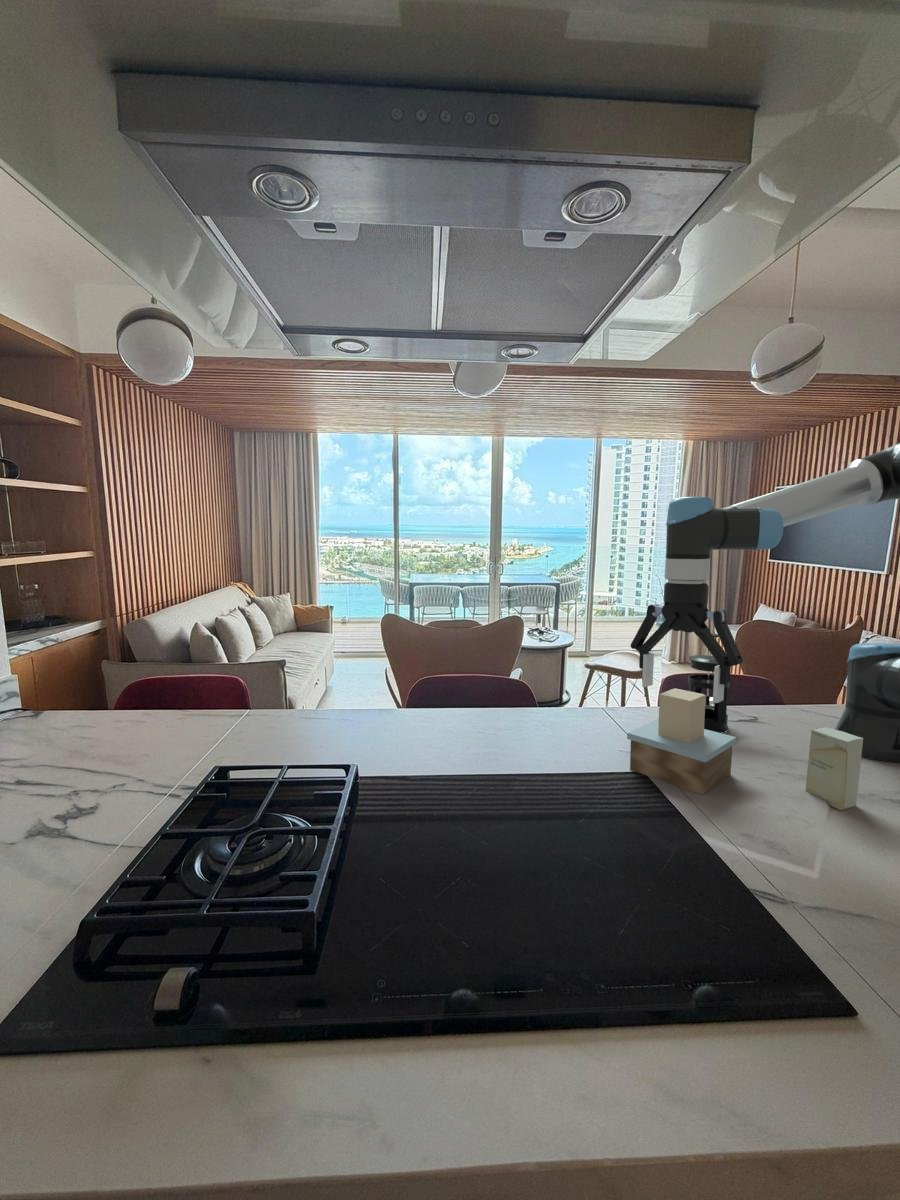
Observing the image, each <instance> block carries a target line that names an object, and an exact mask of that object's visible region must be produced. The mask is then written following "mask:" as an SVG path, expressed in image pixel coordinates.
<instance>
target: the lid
mask: <svg viewBox="0 0 900 1200" xmlns="http://www.w3.org/2000/svg"><path fill="white" fill-rule="evenodd" d="M658 696H659V697H658V699H659V700H658V704H659V705H658V718H656V719H654V720H652V721H651V722H648V723H646V724H643V725H642V726H639V727H637V728H634V729H632V730H630V731H628V732H626V733H627V734H626V739H627V740H630V741H631V740H633V741H636V742H639V743H643V744H646V745H649V746H653V747H656V748H659V749H663V750H666V751H669V752H672V753H676V754H679V755H682V756H686V757H689V758H692V759H696V760H699V761H702V762H705V763H706V762H707V761H709V760H711V759H712V758H714V757H715V756H717V755H718V754H720V753H722V752H723V751H725V750H726V749H728V748H729V747H731V746H732V747H733V746H735V745H736V744H737V737H736V736H733V735H729V734H726V733H718V732H714V731H710V730H706V729H704V720H705V696H706V694H704V693H701V694H700V693H695V692H694V691H693V692H690V691H689V690H685V689H679V688H676V687H675V688H671V689H669V690H667V691H664V692H662V693H660V694H659V695H658Z"/></svg>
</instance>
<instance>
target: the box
mask: <svg viewBox="0 0 900 1200" xmlns="http://www.w3.org/2000/svg"><path fill="white" fill-rule="evenodd" d="M629 753H630V761H629V770H631V771H633V772H636V773H639V774H640V775H641V774H642V775H645V776H647V777H650V778H653V779H657V780H659V781H661V782H664V783H667V784H671V785H673V786H676V787H678V788H682V789H684V790H688V791H691V792H693V793H696V794H698V795H703V796H704V795H705V794H706V793H708V792H709V791H710V790H712V789H713V788H715V787H716V786H717V785H719V784H720V783H722V781H724V780H725V779H728V778H729V777H730V776H731V773H732V756H733V755H732V753H733V746H731V747H729V748H728V749H726V750H725V751H723V752H722V753H720V754H718V755H717V756H715V757H714V758H712V759H711V760H709V761H707V762H706V763H705V762H702V761H699V760H696V759H692V758H689V757H686V756H682V755H679V754H676V753H672V752H669V751H666V750H663V749H659V748H656V747H653V746H649V745H646V744H643V743H639V742H636V741H633V740H630V751H629Z"/></svg>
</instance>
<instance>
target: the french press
mask: <svg viewBox="0 0 900 1200" xmlns="http://www.w3.org/2000/svg"><path fill="white" fill-rule="evenodd" d="M711 634H712V635H713V636H714V638H719V636H718V633H711ZM688 660H689V661H690V668H691V669H694V670H697V671H701V672H702V671H704V672H707V674H704V673H698V674H697V673H695V674H691V675H689V676H687V683H688V691H690V692H695V693H700V694H702V689H706V695H705V720H704V729H706V730H710V731H714V732H718V733H721V732H724V733H726V732H725V731H727V730H729V726H728V723H729V722H728V721H729V719H728V713H727V707H728V705H727V704H728V688H729V687H730V683H729V684H727V685H724V698H723V701H721V702H718V703H714V702H713V696H710V695H709V694H710V693H709V692H710V690H713V687H714V682H713V683H711V682H710V681H714V674H710V672H713V673H714V669H715V666H718V665H719V664H718V662H717V661H716V660H715V658H714V657H713V655H711V653H710V651H709V650H708V655H707V654H706V655H705V654H703V655H701V654H698V655H697V654H695V655H691V656H688ZM704 680H706V681H707V682H703V681H704ZM727 732H728V731H727Z"/></svg>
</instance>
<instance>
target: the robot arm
mask: <svg viewBox="0 0 900 1200" xmlns="http://www.w3.org/2000/svg"><path fill="white" fill-rule="evenodd" d="M891 500H892V501H893V500H900V442H899V443H897V444H896V443H895V444H894V445H892V446H889V447H887V448H885V449H882V450H880V451H877V452H875V453H872V454H870V455H867V456H864V457H861V458H858V459H855V460H853V461H850V463H849V464H848V465H847V467H846V468H844V469H840V470H838V471H834V472H831V473H828V474H825V475H821V476H819V477H815V478H812V479H809V480H807V481H804V482H800V483H796V484H794V485H791V486H788V487H784V488H782V489H781V488H780V489H778V490H775V491H773V492H770V493H769V492H768V493H765V494H763V495H759V496H756V497H754V498H750V499H748V500H744V501H741V502H738V503H735V504H732V505H730V506H726V507H723V508H722V507H721V508H718V507H717V508H716V507H715V505H714V500H713V498H712V497H710V496H684V497H683V496H682V497H676V498H673V499H672V500H671V501H670V502H669V504H668V508H667V509H668V510H667V518H666V523H665V525H666V542H665V543H666V545H665V546H666V547H665V549H666V550H665V567H664V579H665V580H667V582H665V584H664V587H663V589H664V590H663V606H661V605H660V604H657V603H654V604H649V605H648V606H647V608H646V614H645V617H644V619H643V621H642V622H641V624H640V627H639V628H638V630H637V632H636V634H635V636H634V638H633V640H632V641H631V643H630V648H631V649H632V650H636V651H637V652H638V653H639V659H638V660H639V661H638V662H639V669H641V670H642V682H641V684H642V686H641V687H643V688H648V687H650V686H653V685H654V665H655V664H654V663H655V662H654V661H655V660H654V659H655V653H654V652H651V651H652V650H653V649H654V648H655V646H657V644H658V643H659V642H660V641H661V640H662V639H663V638H664V637H665V636H666V635H667V634H668V633H669V632H670V631H674V632H681V631H682V632H684V633H690V634H691V633H694V634H695V636H696V637H698V638H699V639H700V641H701V642H702V643H703V645H704V646H705V647H706V649H707V650H708V652H709V651H710V655H711V656H713V657H714V658H715V660H716V661H717V662H718V664H719V665H718V666H715V669H714V672H713V675H714V680H713V683H714V687H713V689H712V690H713V691H712V692H713V693H712V697H713V702H714V703H718V702H721V701H723V698H724V685H727V684H729V685H730V682H731V669H732V667H733V666H738V665H740V664H742V663H743V662H744V659H743V656H742V654H741V652H740V650H739V648H738V644H737V643H736V641H735V638H734V637H733V634H732V632H731V629H730V627H729V625H728V623H727V612H726V610H724V609H723V610H722V609H720V610H716V611H713V610H711V611H709V608H708V601H709V585H708V583H706V581H707V582H708V581H709V579H710V565H711V564H710V562H711V551H712V550H715V551H716V550H729V551H731V550H733V551H735V550H736V551H737V550H738V551H739V550H740V551H742V550H743V551H745V550H748V551H752V550H753V551H759V550H771V549H774V548H776V546H778V545H779V544H780V542H781V540H782V537H783V535H784V527H787V526H790V525H793V524H796V523H800V522H803V521H807V520H809V519H813V518H815V517H816V518H817V517H819V516H822V515H825V514H829V513H832V512H835V511H839V510H841V509H845V508H848V507H851V506H854V505H858V504H859V505H861V506H870V505H874V504H878V503H882V502H885V501H891ZM661 614H662V616H663V618H664V619H665V620H664V621H663V622H662V623H661V624H660V625H659V627H658V628H657V629H656V630H655V631H654V633H652V634H651V635H650V636H649V634H650V633H651V631H652V629H653V627H654V625H655V623H656V621H657V620H658V617H660V616H661ZM708 619H710V622H711V623H713V626H714V629H715V631H716V634H717V635H718V636H719V637H718V638H719V640H720V642H721V644H722V646H723V647H722V646H721V644H720V643H719V642H718V641H717V639H716V637H714V636H713V635H712V634H713V633H711V630H710V628H709V626H708V625H707V624H706V623H705V622H706V621H708ZM648 636H649V638H647V637H648ZM646 639H647V640H646ZM846 662H847V674H846V689H845V691H846V692H845V705H844V707H845V708H844V711H843V712H842V714H841V716H840V717H839V720H838V722H837V724H836V726H835V728H834V729H836V730H839V731H843V732H846V733H849V734H852V735H855V736H858V737H861V738H863V745H862V754H861V757H863V758H868V759H872V760H878V761H883V762H892V763H900V643H883V642H882V643H880V642H879V643H878V642H877V643H873V642H871V643H867V642H866V643H865V642H864V643H855V644H854V645H852V646H851V647H850V649H849V653H848V658H847V661H846Z"/></svg>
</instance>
